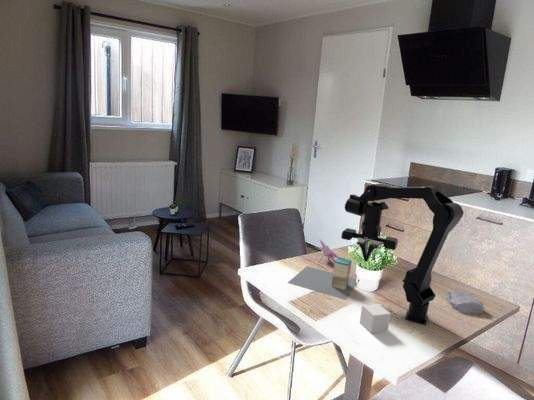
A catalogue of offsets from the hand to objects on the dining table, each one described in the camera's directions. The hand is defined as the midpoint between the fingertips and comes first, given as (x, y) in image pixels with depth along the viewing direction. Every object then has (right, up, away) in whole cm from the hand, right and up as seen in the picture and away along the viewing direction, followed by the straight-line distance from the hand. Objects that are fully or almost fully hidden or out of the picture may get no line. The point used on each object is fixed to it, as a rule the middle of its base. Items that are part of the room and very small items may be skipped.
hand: (365, 261), depth 139 cm
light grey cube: (-3, -17, -20) cm, 27 cm away
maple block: (-8, -10, +6) cm, 14 cm away
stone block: (+34, -16, 0) cm, 38 cm away
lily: (-10, -5, +29) cm, 31 cm away
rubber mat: (-14, -9, +9) cm, 19 cm away
